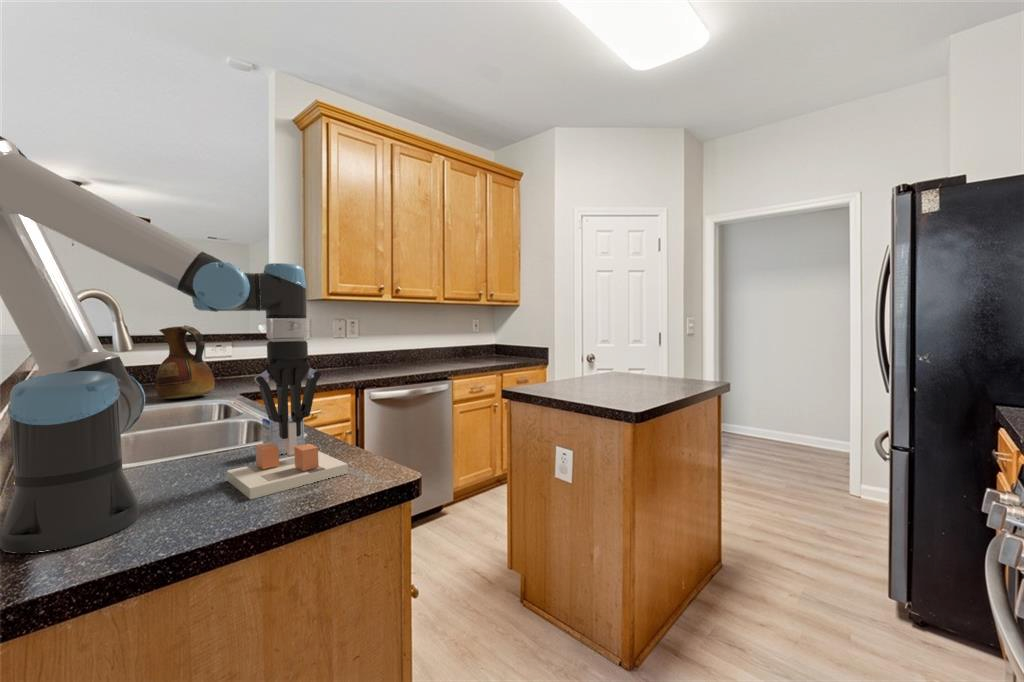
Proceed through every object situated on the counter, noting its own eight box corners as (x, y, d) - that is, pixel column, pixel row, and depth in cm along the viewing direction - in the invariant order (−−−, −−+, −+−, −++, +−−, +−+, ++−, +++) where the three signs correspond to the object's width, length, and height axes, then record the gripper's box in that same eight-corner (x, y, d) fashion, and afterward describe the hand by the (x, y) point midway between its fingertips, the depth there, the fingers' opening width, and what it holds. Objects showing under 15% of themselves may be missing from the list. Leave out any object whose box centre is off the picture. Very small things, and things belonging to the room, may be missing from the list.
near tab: (303, 471, 88) (302, 450, 88) (294, 466, 91) (294, 446, 91) (318, 467, 90) (318, 447, 90) (310, 463, 93) (309, 443, 93)
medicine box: (296, 447, 113) (295, 412, 113) (305, 450, 110) (304, 414, 110) (262, 454, 107) (261, 418, 107) (271, 458, 104) (269, 420, 104)
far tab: (262, 469, 89) (262, 449, 89) (256, 464, 92) (255, 445, 92) (279, 465, 91) (278, 445, 91) (271, 461, 94) (271, 442, 94)
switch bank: (250, 499, 80) (250, 487, 80) (227, 480, 90) (226, 470, 90) (347, 473, 93) (347, 463, 93) (318, 459, 103) (318, 450, 103)
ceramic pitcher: (178, 394, 197) (175, 325, 196) (225, 393, 198) (222, 324, 196) (143, 402, 177) (139, 326, 176) (195, 402, 178) (192, 325, 177)
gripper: (258, 341, 87) (263, 464, 88) (326, 339, 96) (329, 449, 97) (246, 340, 92) (250, 456, 93) (311, 338, 101) (314, 443, 102)
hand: (290, 452), depth 95 cm, fingers closed
